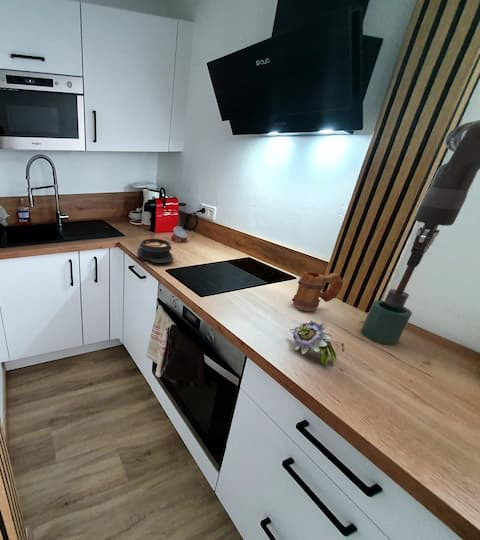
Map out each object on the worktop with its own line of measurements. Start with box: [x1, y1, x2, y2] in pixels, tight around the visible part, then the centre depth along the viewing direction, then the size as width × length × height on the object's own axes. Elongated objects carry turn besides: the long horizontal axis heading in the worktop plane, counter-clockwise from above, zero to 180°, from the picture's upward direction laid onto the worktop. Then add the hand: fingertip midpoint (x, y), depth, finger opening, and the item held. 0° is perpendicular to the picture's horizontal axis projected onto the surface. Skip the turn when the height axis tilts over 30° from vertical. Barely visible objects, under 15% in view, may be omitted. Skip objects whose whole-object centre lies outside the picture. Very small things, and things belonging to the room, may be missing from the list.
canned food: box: [170, 225, 188, 244], centre depth 183 cm, size 11×10×10 cm
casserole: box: [137, 238, 174, 264], centre depth 152 cm, size 25×19×8 cm
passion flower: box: [289, 320, 346, 366], centre depth 83 cm, size 11×11×12 cm
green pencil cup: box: [360, 299, 413, 346], centre depth 91 cm, size 9×9×11 cm
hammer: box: [384, 248, 422, 308], centre depth 84 cm, size 4×4×18 cm
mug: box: [291, 270, 344, 312], centre depth 105 cm, size 15×8×15 cm, turn 80°
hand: (412, 264), depth 83 cm, fingers closed on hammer, 2 cm apart
